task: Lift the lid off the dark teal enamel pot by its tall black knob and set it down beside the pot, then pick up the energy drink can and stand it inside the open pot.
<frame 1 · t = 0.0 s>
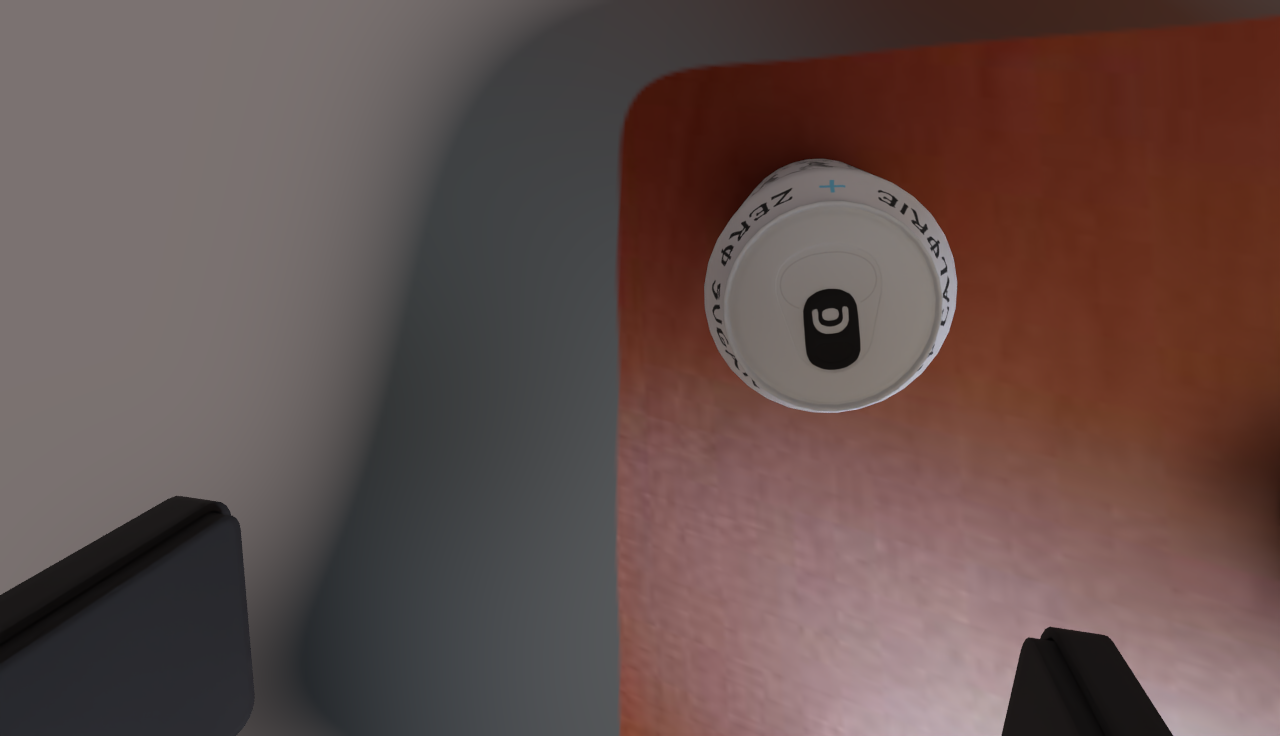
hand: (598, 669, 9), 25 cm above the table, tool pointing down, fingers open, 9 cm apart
energy drink can: (813, 235, 32), on the table
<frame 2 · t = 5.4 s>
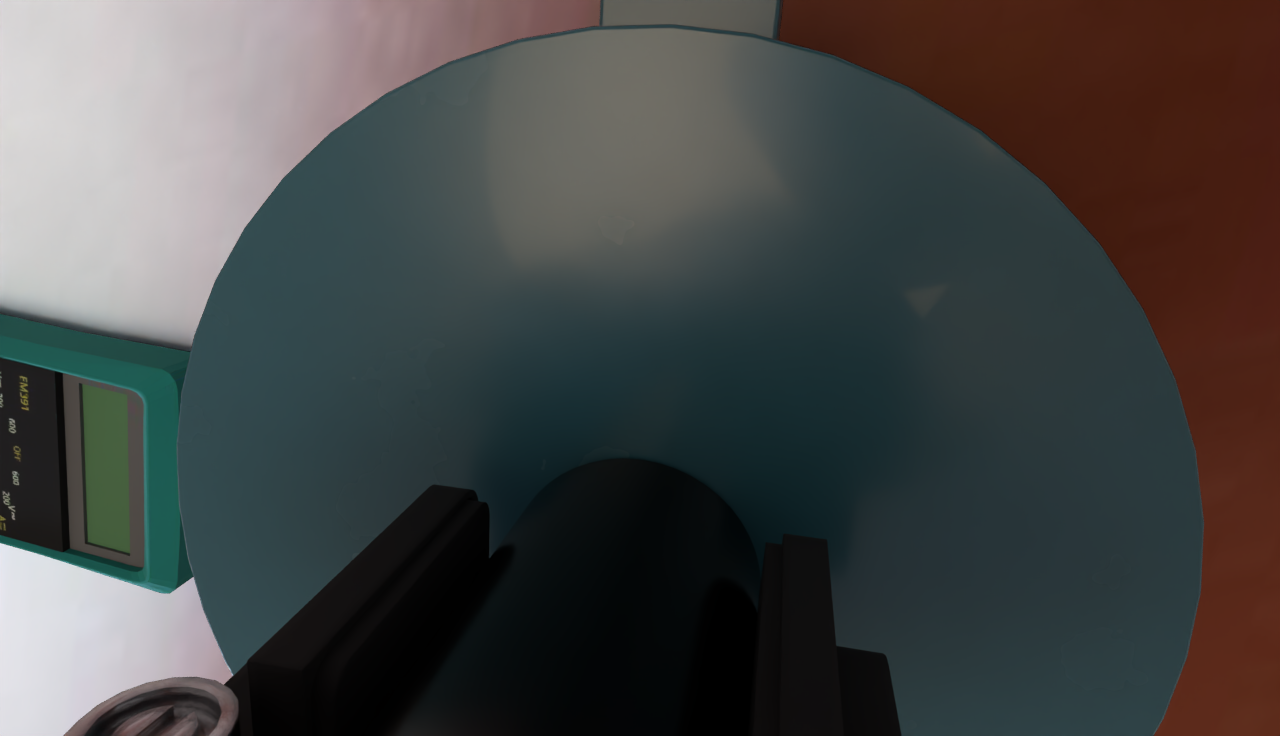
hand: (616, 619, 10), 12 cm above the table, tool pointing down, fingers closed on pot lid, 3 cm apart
pot lid: (641, 553, 12), point 11 cm above the table, touching gripper, pot
pot: (709, 367, 22), on the table
digital multimeter: (39, 410, 27), on the table
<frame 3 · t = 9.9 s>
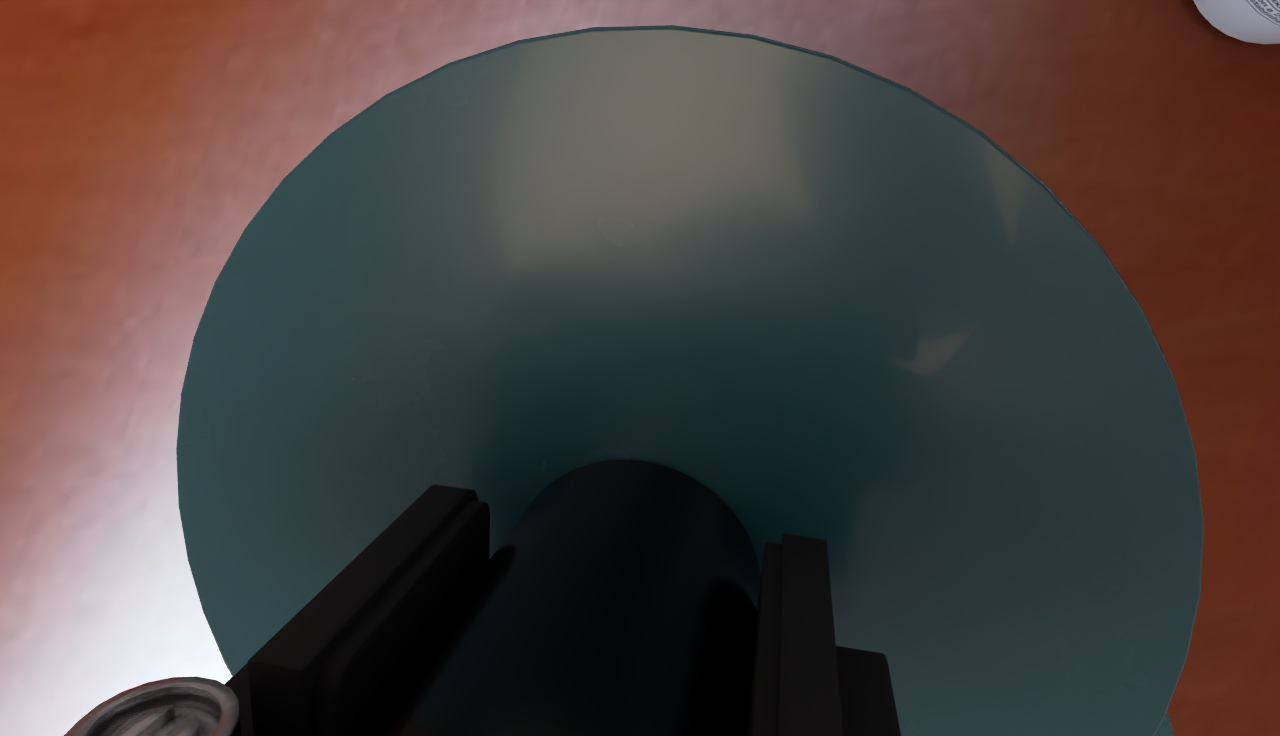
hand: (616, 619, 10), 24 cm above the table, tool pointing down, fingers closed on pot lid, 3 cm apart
pot lid: (641, 554, 12), point 22 cm above the table, touching gripper
when the fingers open (2 cm above the table, at t = 14.7 s): pot lid stays where it is, point 1 cm above the table.
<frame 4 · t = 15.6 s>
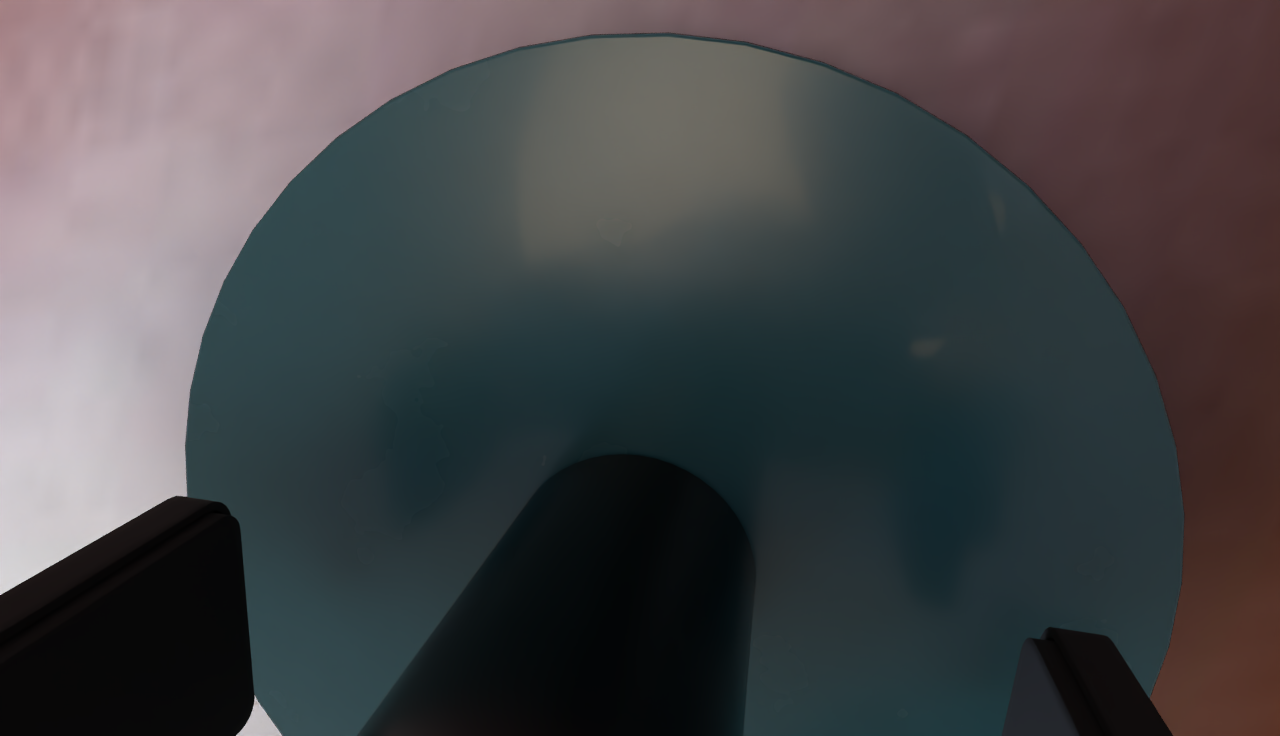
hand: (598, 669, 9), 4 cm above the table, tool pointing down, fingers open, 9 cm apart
pot lid: (639, 547, 12), point 1 cm above the table
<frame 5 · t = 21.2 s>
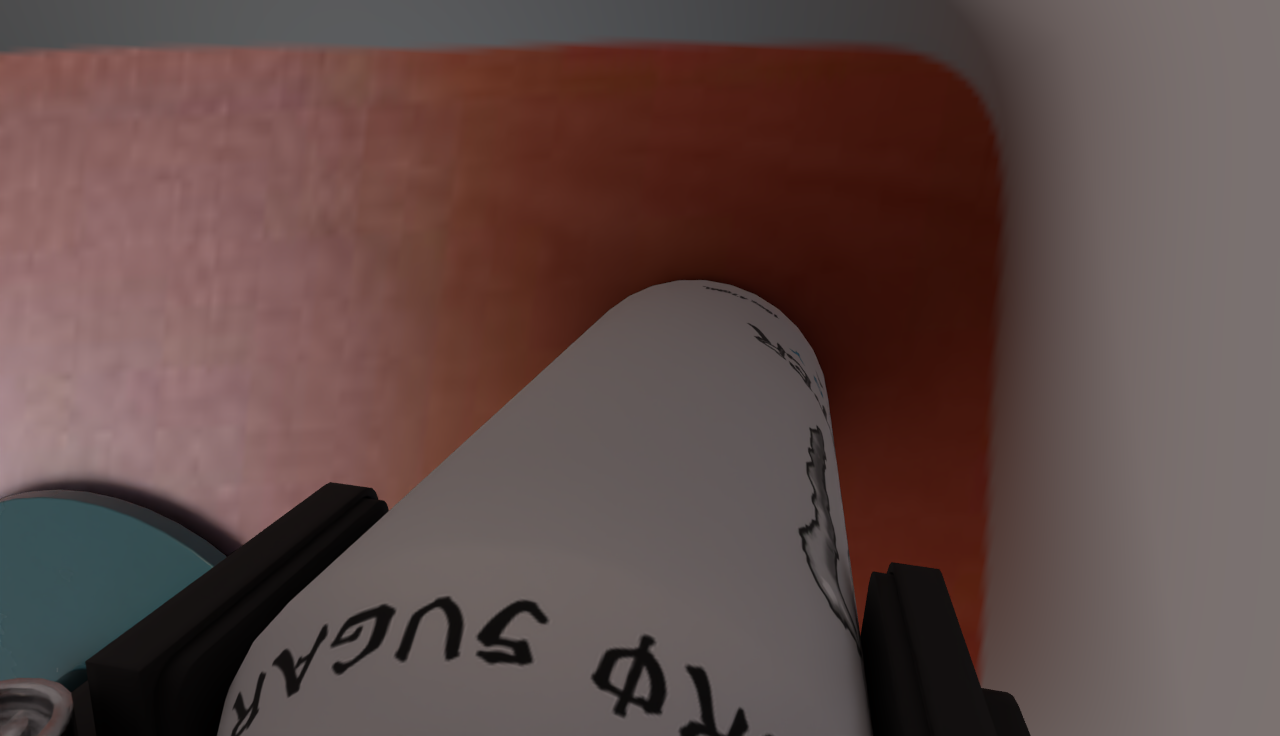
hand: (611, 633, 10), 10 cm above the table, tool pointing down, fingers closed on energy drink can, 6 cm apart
pot lid: (119, 706, 25), point 1 cm above the table
energy drink can: (700, 393, 20), on the table, touching gripper
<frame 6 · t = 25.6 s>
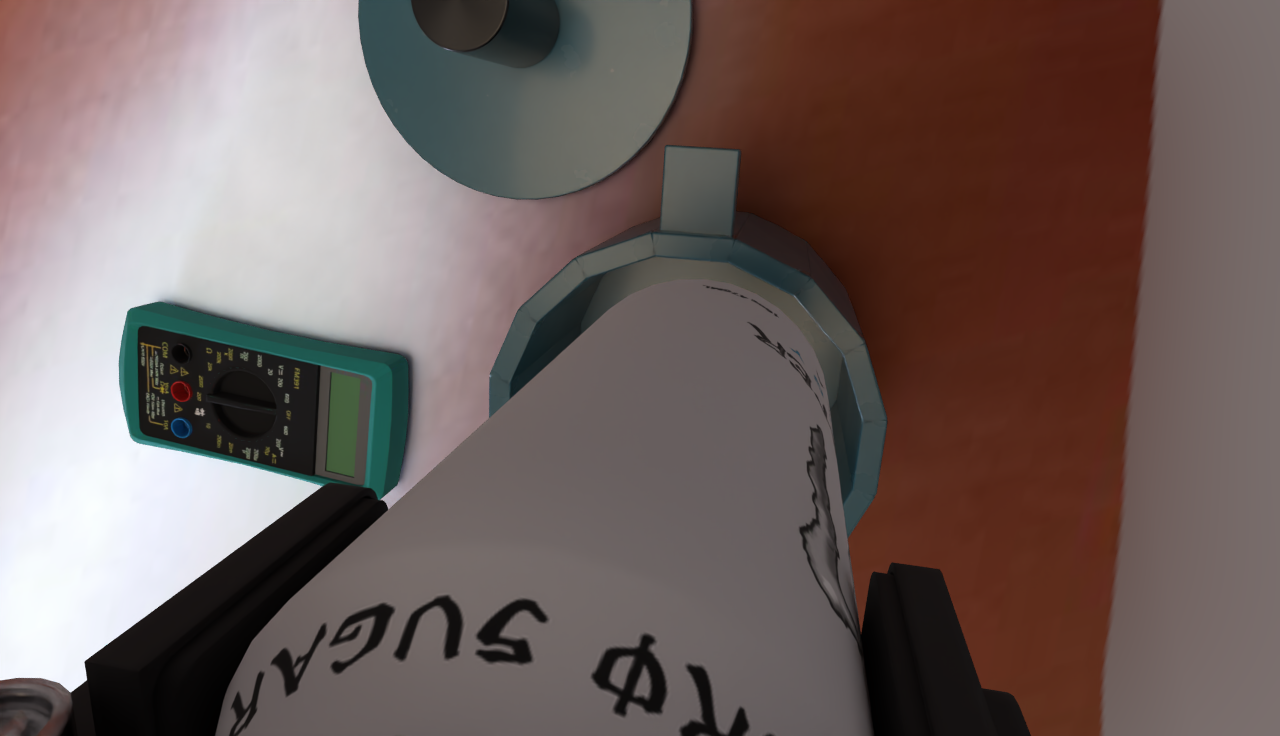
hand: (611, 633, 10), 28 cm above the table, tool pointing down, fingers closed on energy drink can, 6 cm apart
pot lid: (523, 24, 35), point 1 cm above the table
energy drink can: (700, 393, 20), point 18 cm above the table, touching gripper
pot: (707, 357, 38), on the table
digital multimeter: (284, 390, 42), on the table
when the fingers open (10 cm above the table, at t = 30.2 s): energy drink can stays where it is, resting on pot.
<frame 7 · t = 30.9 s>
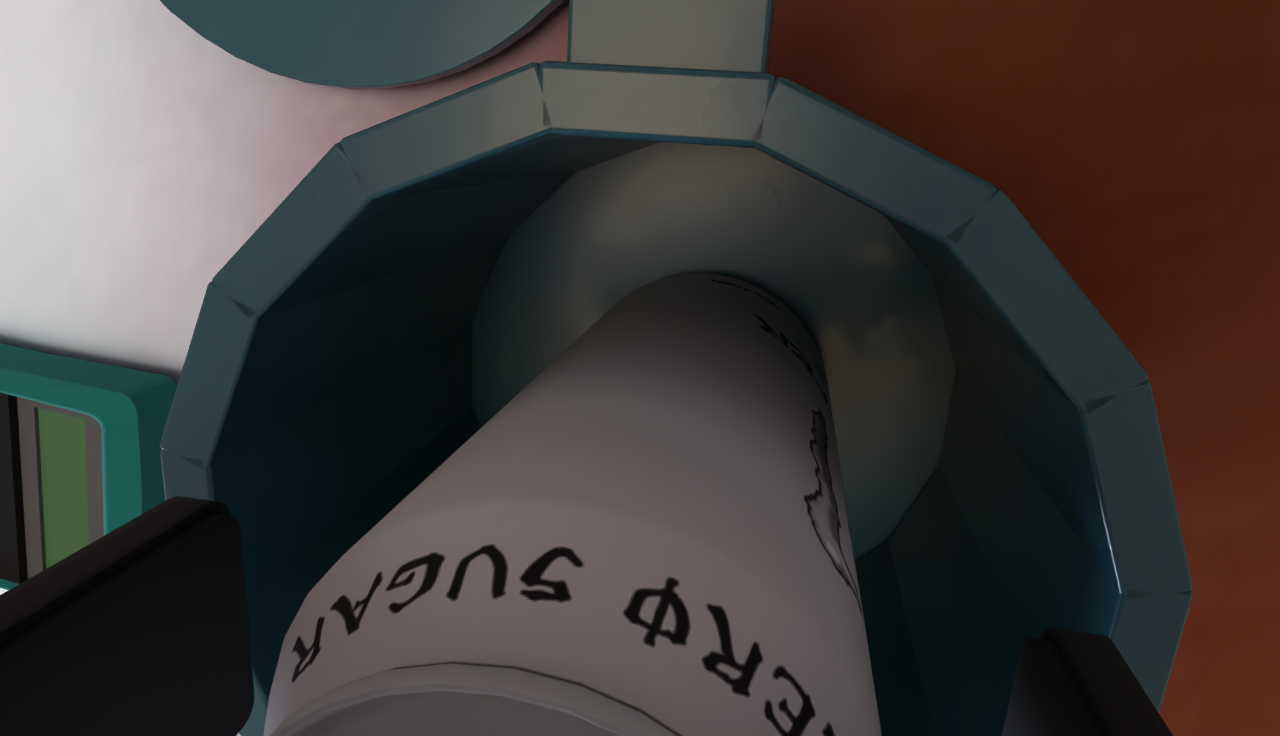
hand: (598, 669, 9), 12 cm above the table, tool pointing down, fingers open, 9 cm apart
energy drink can: (704, 384, 20), resting on pot
pot: (701, 383, 21), on the table
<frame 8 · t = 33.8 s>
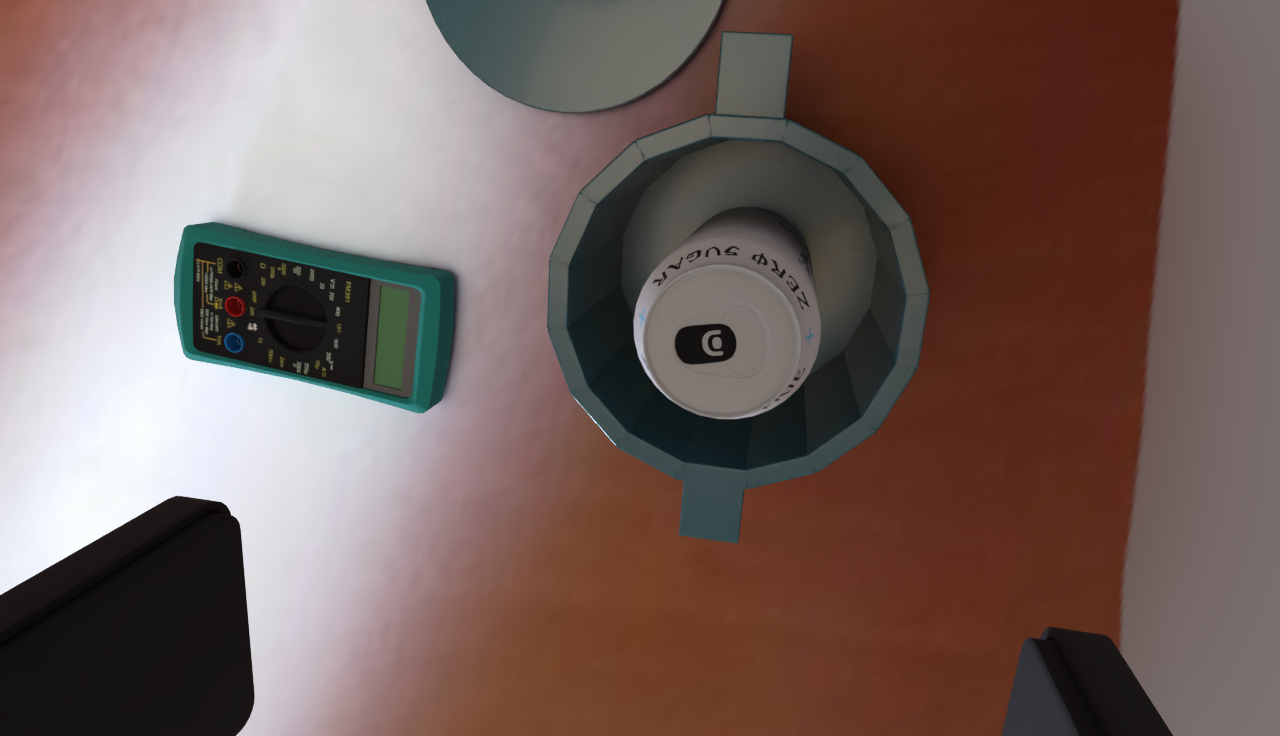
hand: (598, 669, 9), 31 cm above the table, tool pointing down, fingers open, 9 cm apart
energy drink can: (747, 268, 39), resting on pot
pot: (745, 269, 39), on the table
digital multimeter: (331, 310, 44), on the table
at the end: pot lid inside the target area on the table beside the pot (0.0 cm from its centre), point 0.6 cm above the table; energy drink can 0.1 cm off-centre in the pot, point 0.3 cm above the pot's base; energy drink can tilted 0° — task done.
